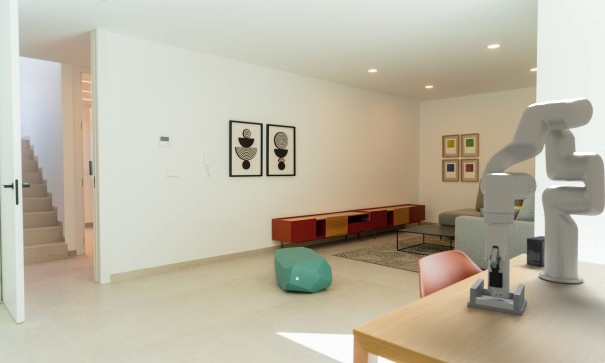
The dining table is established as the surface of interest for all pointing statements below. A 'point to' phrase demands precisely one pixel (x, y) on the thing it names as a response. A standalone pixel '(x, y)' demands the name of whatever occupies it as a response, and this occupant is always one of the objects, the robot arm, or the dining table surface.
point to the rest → (497, 299)
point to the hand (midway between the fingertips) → (498, 283)
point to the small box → (536, 251)
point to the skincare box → (504, 290)
